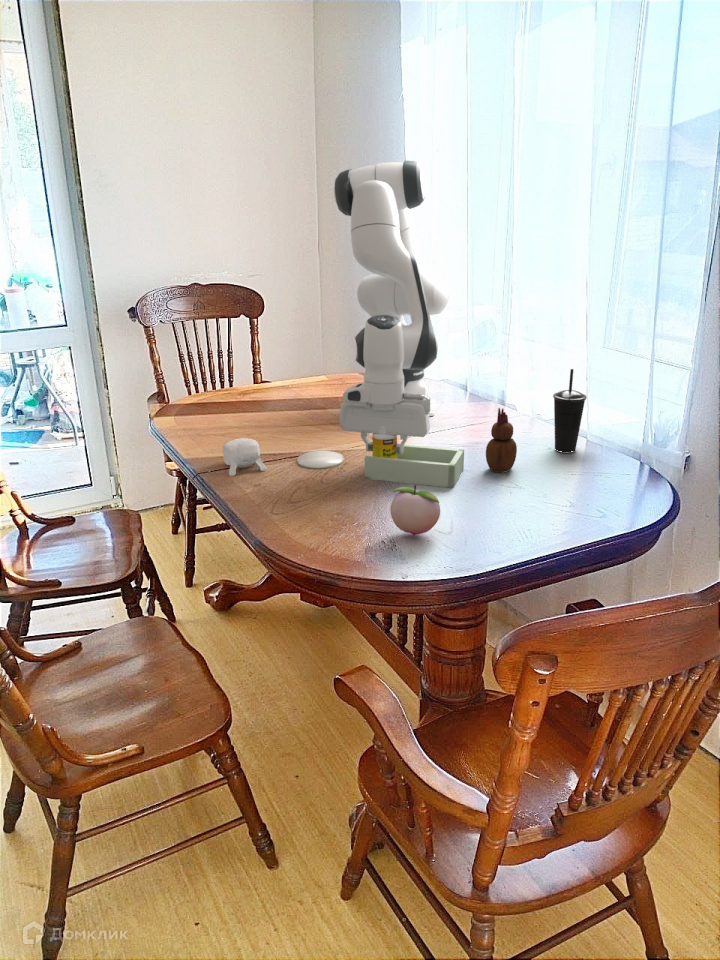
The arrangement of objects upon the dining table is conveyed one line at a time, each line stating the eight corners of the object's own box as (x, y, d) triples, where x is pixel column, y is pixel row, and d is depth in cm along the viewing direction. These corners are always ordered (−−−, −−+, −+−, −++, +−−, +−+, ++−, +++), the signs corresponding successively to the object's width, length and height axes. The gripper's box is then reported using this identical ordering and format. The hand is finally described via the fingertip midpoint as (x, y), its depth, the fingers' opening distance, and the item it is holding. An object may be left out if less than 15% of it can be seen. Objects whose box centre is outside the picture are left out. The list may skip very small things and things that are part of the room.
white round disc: (307, 451, 182) (307, 449, 181) (349, 455, 178) (349, 453, 178) (290, 466, 172) (289, 463, 172) (334, 470, 169) (333, 468, 168)
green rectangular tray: (379, 462, 173) (379, 442, 171) (463, 470, 167) (464, 449, 165) (364, 478, 163) (364, 457, 161) (453, 487, 157) (454, 465, 155)
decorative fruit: (383, 541, 133) (382, 491, 130) (397, 524, 140) (396, 475, 137) (432, 549, 130) (433, 497, 127) (444, 530, 137) (445, 480, 134)
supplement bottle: (382, 473, 164) (381, 429, 160) (367, 466, 168) (367, 423, 164) (402, 467, 166) (402, 424, 163) (387, 461, 171) (387, 418, 167)
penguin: (223, 478, 174) (235, 475, 160) (217, 442, 174) (229, 436, 160) (257, 472, 177) (273, 469, 163) (252, 438, 177) (267, 431, 163)
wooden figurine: (496, 476, 163) (499, 411, 157) (480, 468, 168) (483, 405, 162) (520, 471, 166) (524, 407, 160) (504, 463, 170) (507, 401, 165)
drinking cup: (583, 447, 180) (591, 367, 173) (578, 456, 174) (586, 373, 167) (552, 443, 183) (558, 364, 176) (546, 453, 177) (552, 371, 170)
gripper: (433, 391, 160) (432, 451, 165) (345, 385, 166) (347, 443, 172) (427, 398, 155) (426, 460, 160) (336, 392, 161) (338, 452, 166)
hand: (384, 451), depth 166 cm, fingers closed on supplement bottle, 5 cm apart
